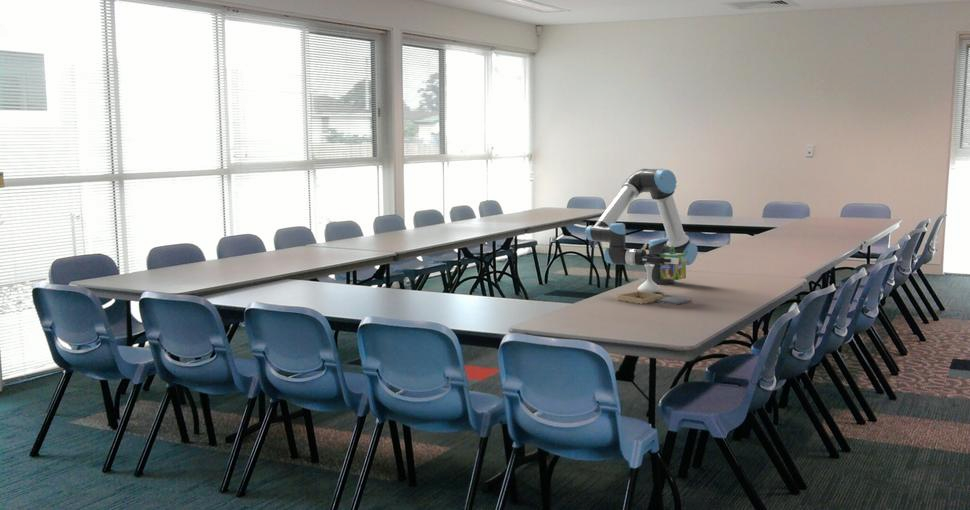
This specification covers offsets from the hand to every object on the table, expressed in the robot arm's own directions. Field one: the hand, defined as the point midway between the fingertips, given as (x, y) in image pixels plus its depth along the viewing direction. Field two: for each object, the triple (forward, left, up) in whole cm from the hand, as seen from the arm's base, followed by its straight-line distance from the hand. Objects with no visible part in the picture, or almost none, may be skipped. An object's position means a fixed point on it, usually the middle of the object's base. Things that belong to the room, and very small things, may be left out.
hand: (682, 259), depth 422 cm
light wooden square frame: (-17, -9, -20) cm, 28 cm away
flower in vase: (-27, +8, -20) cm, 35 cm away
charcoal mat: (-4, -1, -20) cm, 20 cm away
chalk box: (-4, -1, -9) cm, 10 cm away
